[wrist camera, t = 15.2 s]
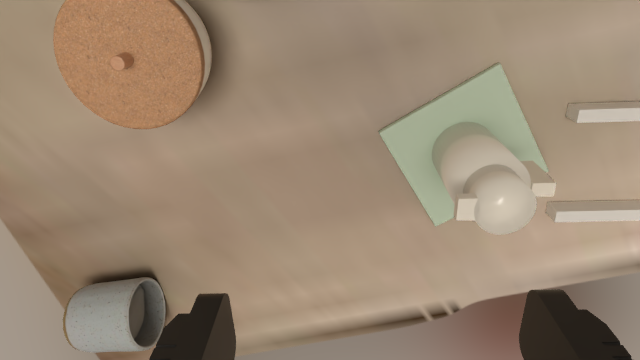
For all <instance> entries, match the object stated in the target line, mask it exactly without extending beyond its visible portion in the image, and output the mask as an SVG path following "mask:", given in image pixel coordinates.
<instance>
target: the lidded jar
mask: <svg viewBox="0 0 640 360" xmlns="http://www.w3.org/2000/svg"><path fill="white" fill-rule="evenodd" d="M53 41H54V51H55V56H56V60H57V64H58V66H59V69H60V71H61V74H62V76H63V78H64V79H65V81H66V83H67V85H68V87H69V88H70V89H71V90H72V92H73V93H74V94H75V96H76V97H77V98H78V99H79V100H80V101H81V102H82V103H83V104H84V105H85V106H86V107H87V108H89V109H90V110H91V111H92V112H94V113H95V114H97V115H98V116H100V117H101V118H103V119H105V120H107V121H109V122H111V123H114V124H117V125H120V126H123V127H127V128H133V129H151V128H157V127H161V126H164V125H167V124H169V123H171V122H173V121H174V120H176V119H177V118H179V117H180V116H181V115H183V114H184V113H185V112H186V111H187V110H188V109H189V108H190V107H191V105H192V104H193V103H194V101H195V100H196V98H197V97H198V96H199V95H200V93H201V91H202V90H203V88H204V86H205V84H206V82H207V79H208V77H209V73H210V69H211V59H212V52H211V44H210V40H209V36H208V33H207V30H206V28H205V26H204V24H203V22H202V20H201V19H200V17H199V16H198V14H197V13H196V12H195V10H194V9H193V8H192V7H191V6H190V5H189V4H188V3H187V2H186V1H185V0H66V1H65V2H64V4H63V5H62V6H61V8H60V11H59V13H58V15H57V18H56V22H55V27H54V39H53Z"/></svg>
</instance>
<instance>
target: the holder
mask: <svg viewBox="0 0 640 360" xmlns="http://www.w3.org/2000/svg"><path fill="white" fill-rule="evenodd" d="M566 117H568V118H569V119H571V120H573V121H574V122H576V123H593V122H625V121H640V101H631V102H601V103H571V104H568V107H567V112H566ZM546 213H547V214H548V216H549V217H550V218H551V219H552V220H553V221H554V222H595V221H640V200H610V201H567V202H548V203H547V208H546Z"/></svg>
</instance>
